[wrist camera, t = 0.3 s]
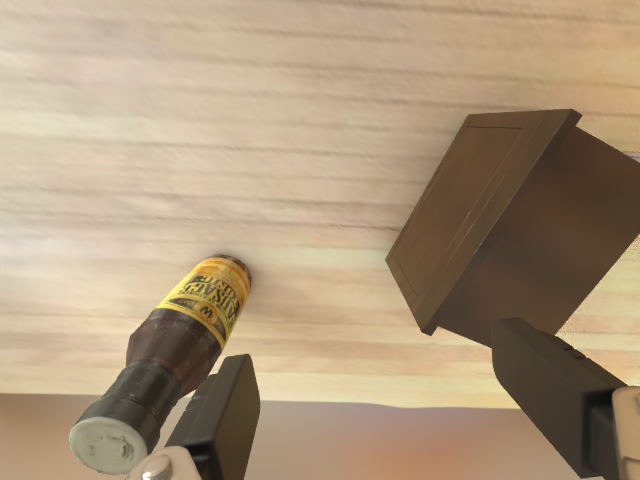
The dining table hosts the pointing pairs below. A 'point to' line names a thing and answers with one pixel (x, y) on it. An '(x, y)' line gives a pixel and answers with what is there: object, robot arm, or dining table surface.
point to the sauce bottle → (162, 366)
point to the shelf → (516, 224)
